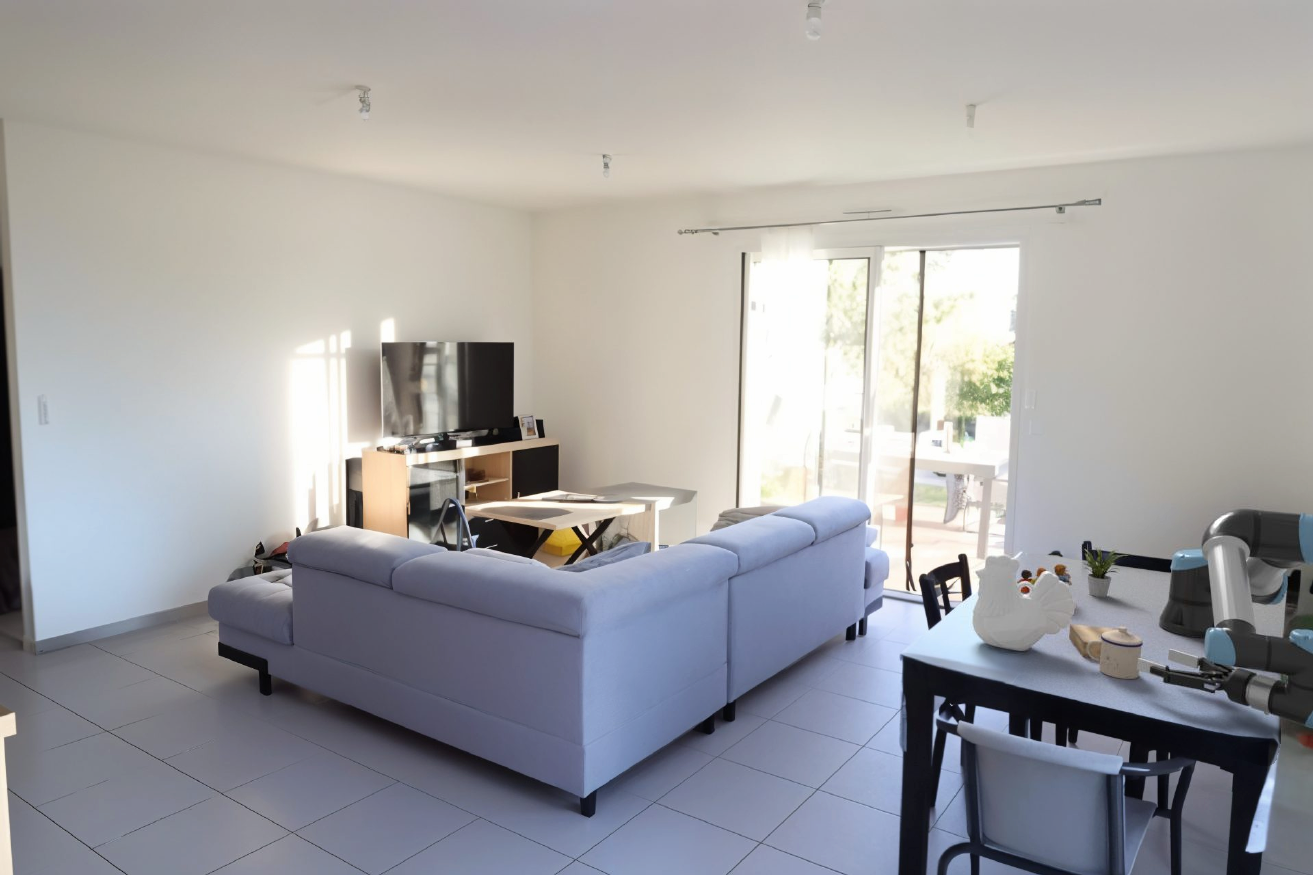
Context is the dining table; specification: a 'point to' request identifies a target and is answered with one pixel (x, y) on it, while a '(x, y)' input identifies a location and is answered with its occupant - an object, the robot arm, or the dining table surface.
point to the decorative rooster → (1018, 605)
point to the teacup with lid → (1118, 653)
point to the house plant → (1100, 573)
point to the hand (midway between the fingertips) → (1153, 658)
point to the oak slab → (1087, 638)
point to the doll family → (1026, 574)
